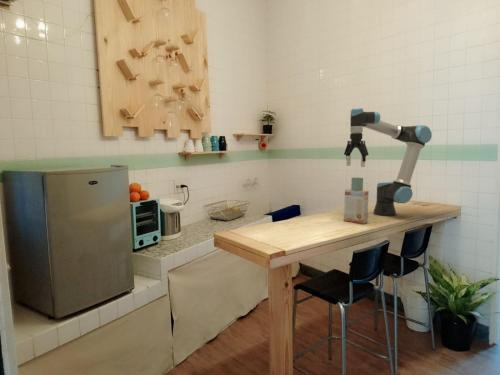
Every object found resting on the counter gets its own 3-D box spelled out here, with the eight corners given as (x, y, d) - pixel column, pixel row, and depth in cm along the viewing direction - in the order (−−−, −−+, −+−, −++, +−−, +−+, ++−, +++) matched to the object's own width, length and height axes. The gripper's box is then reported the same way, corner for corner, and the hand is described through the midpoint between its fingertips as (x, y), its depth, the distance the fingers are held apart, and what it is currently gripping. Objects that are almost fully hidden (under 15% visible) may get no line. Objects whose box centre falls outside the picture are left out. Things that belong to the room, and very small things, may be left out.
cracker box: (367, 223, 215) (369, 190, 212) (362, 224, 211) (364, 191, 208) (348, 219, 225) (349, 188, 223) (343, 220, 221) (344, 189, 219)
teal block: (357, 189, 219) (358, 177, 218) (362, 190, 214) (363, 178, 213) (351, 189, 217) (351, 177, 216) (356, 190, 212) (356, 178, 211)
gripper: (339, 133, 224) (338, 165, 226) (365, 132, 201) (364, 167, 204) (348, 133, 227) (347, 165, 229) (375, 132, 204) (374, 167, 207)
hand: (355, 166), depth 217 cm, fingers open, 13 cm apart
